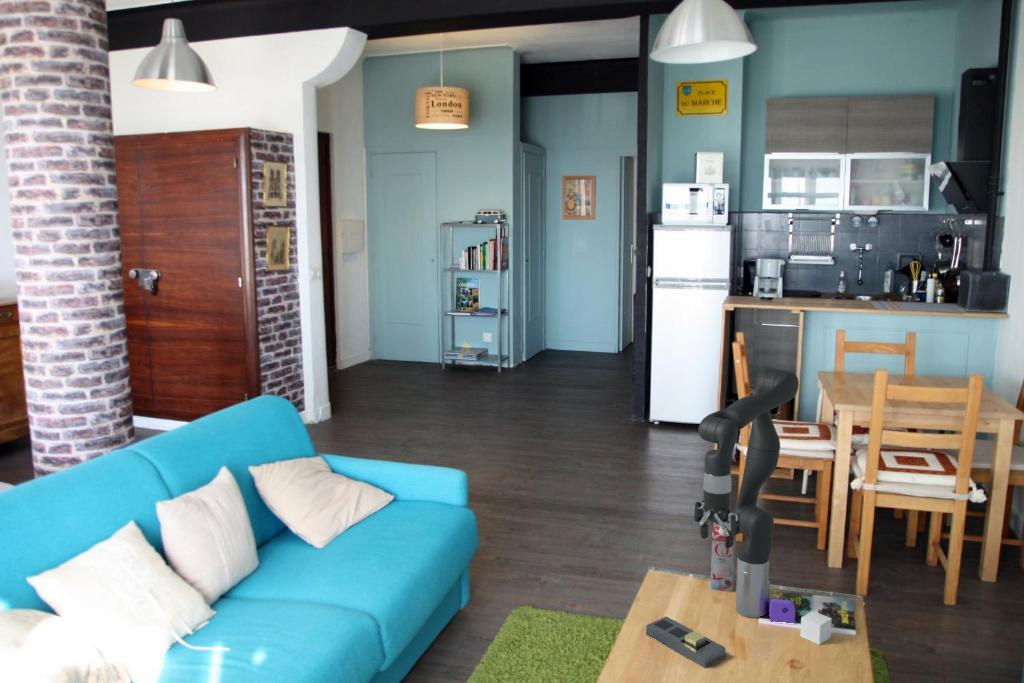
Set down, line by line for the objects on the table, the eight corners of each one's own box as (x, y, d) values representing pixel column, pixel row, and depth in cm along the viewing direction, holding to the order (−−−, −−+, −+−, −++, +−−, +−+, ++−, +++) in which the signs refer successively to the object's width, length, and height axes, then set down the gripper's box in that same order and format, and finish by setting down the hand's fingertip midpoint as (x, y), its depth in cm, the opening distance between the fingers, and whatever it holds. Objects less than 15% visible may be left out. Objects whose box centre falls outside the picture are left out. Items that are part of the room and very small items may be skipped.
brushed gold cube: (693, 646, 240) (693, 630, 239) (706, 653, 236) (706, 637, 235) (683, 651, 238) (683, 634, 237) (696, 658, 234) (696, 641, 233)
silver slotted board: (666, 625, 252) (666, 615, 251) (725, 657, 234) (725, 647, 234) (646, 634, 247) (646, 625, 246) (704, 668, 229) (705, 657, 229)
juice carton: (731, 592, 271) (733, 527, 267) (710, 589, 274) (712, 524, 270) (734, 583, 277) (736, 519, 273) (713, 580, 280) (715, 517, 276)
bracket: (794, 625, 251) (795, 604, 250) (770, 623, 252) (771, 602, 251) (789, 605, 263) (790, 585, 261) (766, 604, 264) (767, 583, 263)
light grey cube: (800, 636, 244) (801, 617, 243) (811, 629, 248) (812, 610, 247) (819, 645, 240) (820, 625, 239) (830, 637, 243) (831, 618, 242)
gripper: (747, 491, 231) (745, 547, 234) (706, 478, 243) (705, 531, 246) (729, 498, 227) (728, 554, 230) (688, 484, 238) (688, 538, 241)
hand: (716, 542), depth 238 cm, fingers open, 8 cm apart
